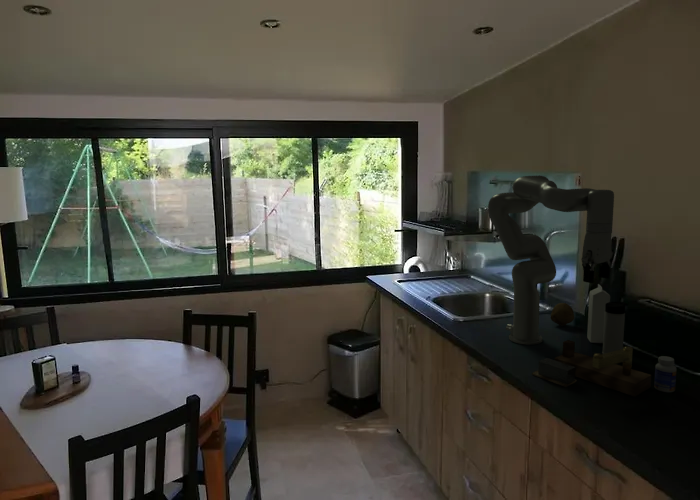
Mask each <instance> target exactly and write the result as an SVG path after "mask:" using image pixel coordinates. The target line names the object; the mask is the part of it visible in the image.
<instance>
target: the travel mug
mask: <svg viewBox="0 0 700 500" xmlns="http://www.w3.org/2000/svg"><path fill="white" fill-rule="evenodd" d="M627 305H628V304H627V303H626V302H625V301H610V302H609V303H606V305H605V317H604V335H603V343H602V352H601V354H605V353H609V352H613V351H616V350H620V349H624V336H625V332H624V331H625V323H626V322H625V320H626V306H627Z"/></svg>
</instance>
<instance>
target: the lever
mask: <svg viewBox="0 0 700 500" xmlns="http://www.w3.org/2000/svg"><path fill="white" fill-rule="evenodd" d="M633 351H634V349H633V347H632V346H627V345H625V346H624V345H623V349H620V350H616V351H613V352H609V353H605V354H602V353H598V352H595V353H594V354H593V356H592V357H593V367H595V368H598V369H599V368H603V367H607V366H610V365H614V364H617V365H618V364H620V363H622V365H621V366H622V373H623V374H625V375H631V369H632V367H633V365H632V364H633Z"/></svg>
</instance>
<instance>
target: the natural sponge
mask: <svg viewBox="0 0 700 500" xmlns="http://www.w3.org/2000/svg"><path fill="white" fill-rule="evenodd" d="M550 319H551V321H552V322H553V323H555V324H557V325H558V326H561V327H564V326H566V325H567V324H569V323H570V324H571V323H572V322H573V321H574V320H575V313H574V309H573V307H572V306H570V304H568V303H566V302H559V303H557V304H555V306H554V307H553V308H552V311H551V314H550Z"/></svg>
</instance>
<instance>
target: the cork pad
mask: <svg viewBox="0 0 700 500" xmlns="http://www.w3.org/2000/svg"><path fill="white" fill-rule="evenodd" d="M531 375H532V376H534V377H537V378H540V379H543V380H546V381H549V382H551V383H554V384H557V385H559V386H562V387H564V388H567V387H569V386H571V385H573V384H575V383H577V379H575V381H573V382H571V383H569V384H564V383H561V382H559V381H556V380H553V379H550V378H547V377H545V376H542V375H539V374H538V369H537V370H535V371H533V372H531Z"/></svg>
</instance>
